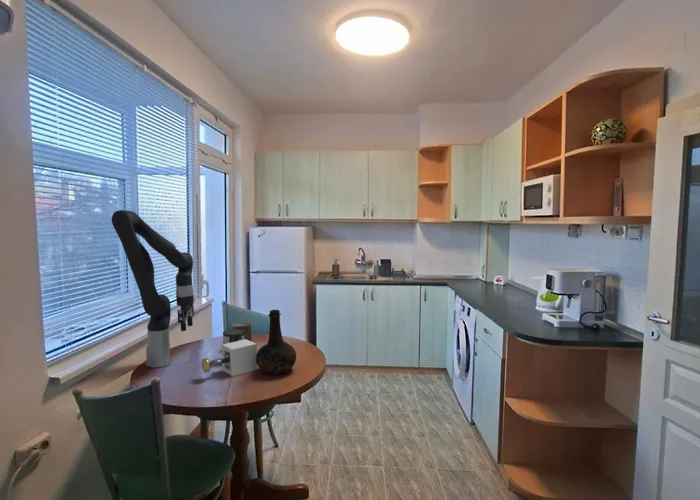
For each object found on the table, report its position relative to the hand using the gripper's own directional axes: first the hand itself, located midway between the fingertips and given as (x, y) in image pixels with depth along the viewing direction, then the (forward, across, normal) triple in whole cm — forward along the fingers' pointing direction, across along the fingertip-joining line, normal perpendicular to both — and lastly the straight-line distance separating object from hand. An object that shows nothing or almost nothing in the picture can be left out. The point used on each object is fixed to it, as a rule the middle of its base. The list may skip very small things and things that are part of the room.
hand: (187, 328), depth 183 cm
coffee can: (+18, -5, +20) cm, 28 cm away
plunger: (+15, +16, +18) cm, 28 cm away
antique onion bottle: (+19, +11, +43) cm, 48 cm away
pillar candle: (+18, -22, +20) cm, 35 cm away
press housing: (+18, +9, +26) cm, 33 cm away
